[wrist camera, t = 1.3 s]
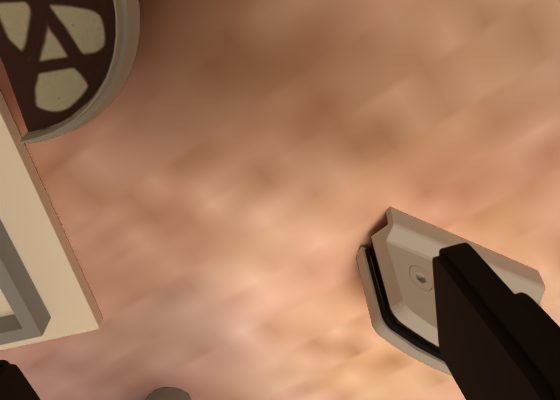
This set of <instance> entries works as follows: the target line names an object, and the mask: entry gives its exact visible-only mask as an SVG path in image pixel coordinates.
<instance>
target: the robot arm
mask: <svg viewBox="0 0 560 400" xmlns="http://www.w3.org/2000/svg"><path fill="white" fill-rule="evenodd" d="M432 266H433V279H434V292H435V305H436V317H437V330H438V343H439V349H440V352H441V355H442V358H443V360H444V362H445V364H446V365H447V367H448V369H449V371H450V372H451V374H452V376H453V378H454V379H455V381H456V383H457V385H458V386H459V388H460V390H461V392H462V393H463V395H464V397H465V399H466V400H560V327H559V326H558V325H557V324H556V323H555V322H554V321H553V320H552V319H551V317H550V316H549V315H548V314H547V313H546V312H545V311H544V310H543V309H542V308H541V307H540V306H539V305H538V304H537V303H536V302H535V301H534V300H533V299H532V298H531V297H530V296H529V295H528V294H526V293H523V292H520V293H516V294H514V293H513V292H512V291H511V289H510V288H509V287H508V286H507V285H506V284H505V283H504V282H503V281H502V280H501V278H500V277H499V276H498V275H497V274H496V273H495V272H494V271H493V270H492V268H491V267H490V266H489V265H488V264H487V263H486V262H485V261H484V260H483V259H482V257H481V256H480V255H479V254H478V253H477V252H476V251H475V250H474V249H473V248H472V246H471V245H470V244H468V243H466V242H464V243H460V244H456V245H452V246H448V247H444V248H441V249H440V250H439V256H436V257H433V259H432ZM0 400H40V398H39V397H38V395H37V394H36V392H35V391H34V390H33V388H32V387H31V385H30V384H29V382H28V381H27V379H26V378H25V376H24V375H23V373H22V372H21V371H20V369H19V368H18V367H17V366H16V365H14V364H10V363H9V362H8V361H6V360H0Z"/></svg>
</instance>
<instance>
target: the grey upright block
mask: <svg viewBox="0 0 560 400" xmlns="http://www.w3.org/2000/svg"><path fill="white" fill-rule="evenodd" d="M146 400H191V399H190V397H189V395H188V393H186V392H184V391H182V390H180V389H177V388H169V387H164V388H160V389H157V390H155V391H153V392H152V393H151V394H150V395H149V396H148V397H147V398H146Z"/></svg>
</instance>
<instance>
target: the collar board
mask: <svg viewBox="0 0 560 400" xmlns="http://www.w3.org/2000/svg"><path fill="white" fill-rule="evenodd" d="M21 139H22V137H21V135H20V133H19V131H18V128H17V126H16V124H15V122H14V120H13V117H12V115H11V113H10V111H9V108H8V106H7V104H6V102H5V100H4V97H3V95H2V93H1V91H0V350H4V349H9V348H14V347H18V346H23V345H27V344H32V343H37V342H41V341H46V340H50V339H55V338H60V337H64V336H69V335H74V334H78V333H83V332H87V331H92V330H97V329H100V326H101V323H102V320H103V318H102V315H101V313H100V311H99V309H98V306H97V304H96V302H95V300H94V298H93V295H92V293H91V291H90V289H89V286H88V284H87V282H86V280H85V278H84V275H83V273H82V271H81V269H80V266H79V264H78V262H77V260H76V258H75V255H74V253H73V251H72V249H71V246H70V244H69V242H68V240H67V237H66V235H65V233H64V231H63V229H62V226H61V224H60V222H59V220H58V217H57V215H56V213H55V211H54V209H53V206H52V204H51V202H50V200H49V197H48V195H47V193H46V191H45V189H44V186H43V184H42V182H41V180H40V177H39V175H38V173H37V171H36V169H35V166H34V164H33V162H32V160H31V157H30V155H29V153H28V151H27V149H26V146H25V144H24V143H21V144H20V143H19V142H20V140H21Z"/></svg>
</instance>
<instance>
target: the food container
mask: <svg viewBox="0 0 560 400" xmlns="http://www.w3.org/2000/svg"><path fill="white" fill-rule="evenodd" d="M139 35H140V8H139V0H0V57H1V60H2V62H3V64H4V67H5V69H6V72H7V75H8V77H9V80H10V83H11V86H12V88H13V91H14V94H15V97H16V99H17V102H18V105H19V108H20V110H21V113H22V116H23V119H24V121H25V124H26V127H27V130H28V132H27V133H26V134H25V135H24V137H23V138H22V139H21V140H20V142H19V143H20V144H21V143H27V144H32V143H36V142H41V141H46V140H49V139H52V138H55V137H58V136H60V135H63V134H66V133H68V132H71V131H73V130H76V129H78V128H79V127H81V126H83V125H84V124H86V123H88V122H90V121H91V120H93V119H94V118H95V117H96V116H98V115H99V114H100V113H101V112H102V111H103V110H105V109H106V108H107V107H108V106H109V105H110V103H111V102H112V101H113V100H114V98H115V97H116V96H117V95H118V94H119V92H120V91H121V89H122V87H123V85H124V84H125V82H126V80H127V78H128V76H129V74H130V72H131V69H132V66H133V63H134V60H135V57H136V54H137V48H138V41H139Z"/></svg>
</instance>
